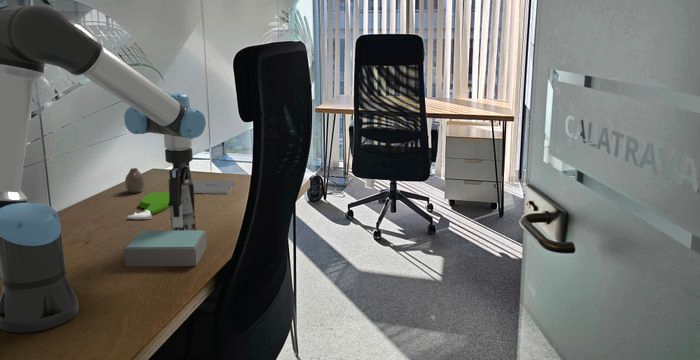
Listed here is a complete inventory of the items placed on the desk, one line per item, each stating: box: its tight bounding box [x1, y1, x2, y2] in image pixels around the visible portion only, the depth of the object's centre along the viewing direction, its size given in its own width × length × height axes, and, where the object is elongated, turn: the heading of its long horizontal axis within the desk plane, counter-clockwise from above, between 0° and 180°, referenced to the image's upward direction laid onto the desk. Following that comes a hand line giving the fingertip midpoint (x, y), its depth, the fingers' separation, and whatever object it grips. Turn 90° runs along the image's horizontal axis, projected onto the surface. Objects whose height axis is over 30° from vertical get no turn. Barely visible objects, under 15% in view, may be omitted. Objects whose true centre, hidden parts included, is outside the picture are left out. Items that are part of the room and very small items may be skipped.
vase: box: [124, 167, 146, 194], centre depth 220 cm, size 7×7×9 cm
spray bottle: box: [127, 191, 170, 220], centre depth 200 cm, size 3×11×24 cm
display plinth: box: [123, 229, 208, 267], centre depth 158 cm, size 14×18×5 cm
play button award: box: [191, 179, 237, 195], centre depth 227 cm, size 16×2×20 cm
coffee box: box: [167, 178, 197, 231], centre depth 174 cm, size 9×6×16 cm
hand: (183, 220), depth 175 cm, fingers open, 11 cm apart
